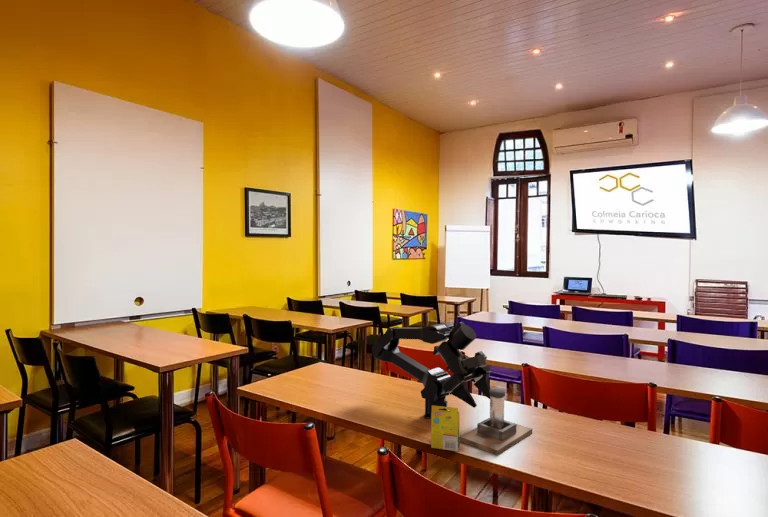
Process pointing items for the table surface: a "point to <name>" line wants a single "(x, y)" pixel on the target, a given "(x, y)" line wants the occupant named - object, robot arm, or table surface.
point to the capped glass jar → (497, 408)
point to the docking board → (495, 436)
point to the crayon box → (445, 428)
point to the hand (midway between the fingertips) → (484, 403)
